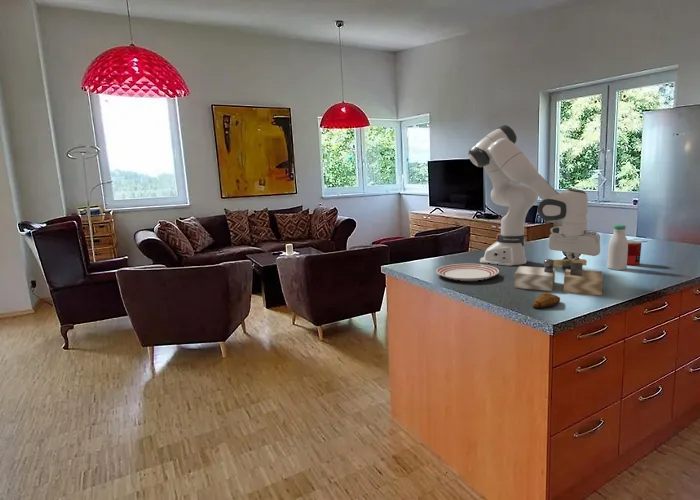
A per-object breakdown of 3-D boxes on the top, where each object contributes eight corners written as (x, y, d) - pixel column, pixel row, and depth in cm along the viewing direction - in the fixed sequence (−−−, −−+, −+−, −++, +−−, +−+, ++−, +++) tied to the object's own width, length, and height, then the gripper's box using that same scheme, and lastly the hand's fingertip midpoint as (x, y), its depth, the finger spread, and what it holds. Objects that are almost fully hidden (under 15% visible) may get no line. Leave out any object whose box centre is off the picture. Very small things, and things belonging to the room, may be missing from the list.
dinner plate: (461, 287, 187) (461, 280, 186) (424, 274, 211) (424, 267, 211) (512, 279, 197) (512, 271, 197) (472, 267, 222) (472, 260, 221)
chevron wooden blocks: (514, 287, 183) (515, 262, 181) (518, 279, 195) (519, 255, 193) (601, 295, 169) (603, 267, 167) (601, 285, 181) (602, 259, 179)
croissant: (543, 312, 153) (543, 297, 152) (526, 307, 159) (526, 293, 158) (567, 304, 160) (568, 290, 159) (550, 300, 166) (551, 287, 165)
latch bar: (583, 264, 182) (583, 258, 182) (586, 266, 179) (587, 260, 179) (542, 264, 184) (542, 259, 183) (545, 266, 180) (545, 261, 180)
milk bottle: (629, 270, 204) (632, 226, 200) (610, 270, 205) (613, 226, 202) (622, 266, 211) (625, 224, 207) (604, 266, 213) (607, 224, 209)
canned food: (639, 266, 210) (641, 243, 208) (619, 265, 215) (621, 242, 213) (639, 263, 217) (641, 240, 215) (620, 261, 221) (621, 239, 219)
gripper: (604, 231, 174) (602, 266, 177) (556, 226, 191) (554, 258, 194) (595, 233, 171) (593, 268, 174) (546, 228, 188) (545, 260, 191)
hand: (572, 263), depth 184 cm, fingers closed
